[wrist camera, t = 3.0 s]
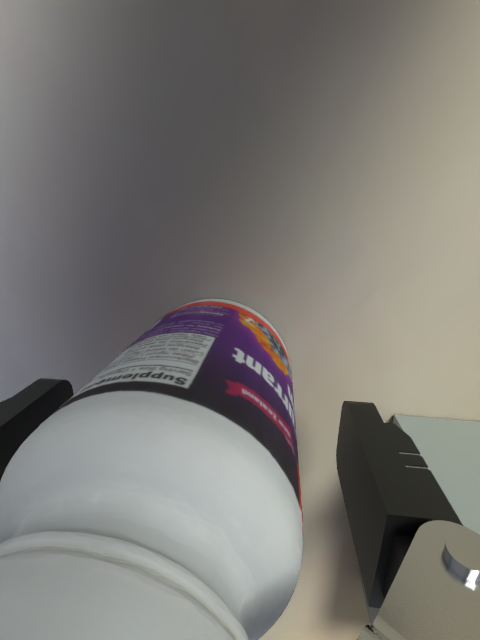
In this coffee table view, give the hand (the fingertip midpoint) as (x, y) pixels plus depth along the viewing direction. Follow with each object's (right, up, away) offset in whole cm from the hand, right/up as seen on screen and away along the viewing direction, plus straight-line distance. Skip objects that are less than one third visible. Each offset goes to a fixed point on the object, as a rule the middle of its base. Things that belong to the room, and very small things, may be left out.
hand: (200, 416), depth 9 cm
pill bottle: (0, +1, +3) cm, 3 cm away
